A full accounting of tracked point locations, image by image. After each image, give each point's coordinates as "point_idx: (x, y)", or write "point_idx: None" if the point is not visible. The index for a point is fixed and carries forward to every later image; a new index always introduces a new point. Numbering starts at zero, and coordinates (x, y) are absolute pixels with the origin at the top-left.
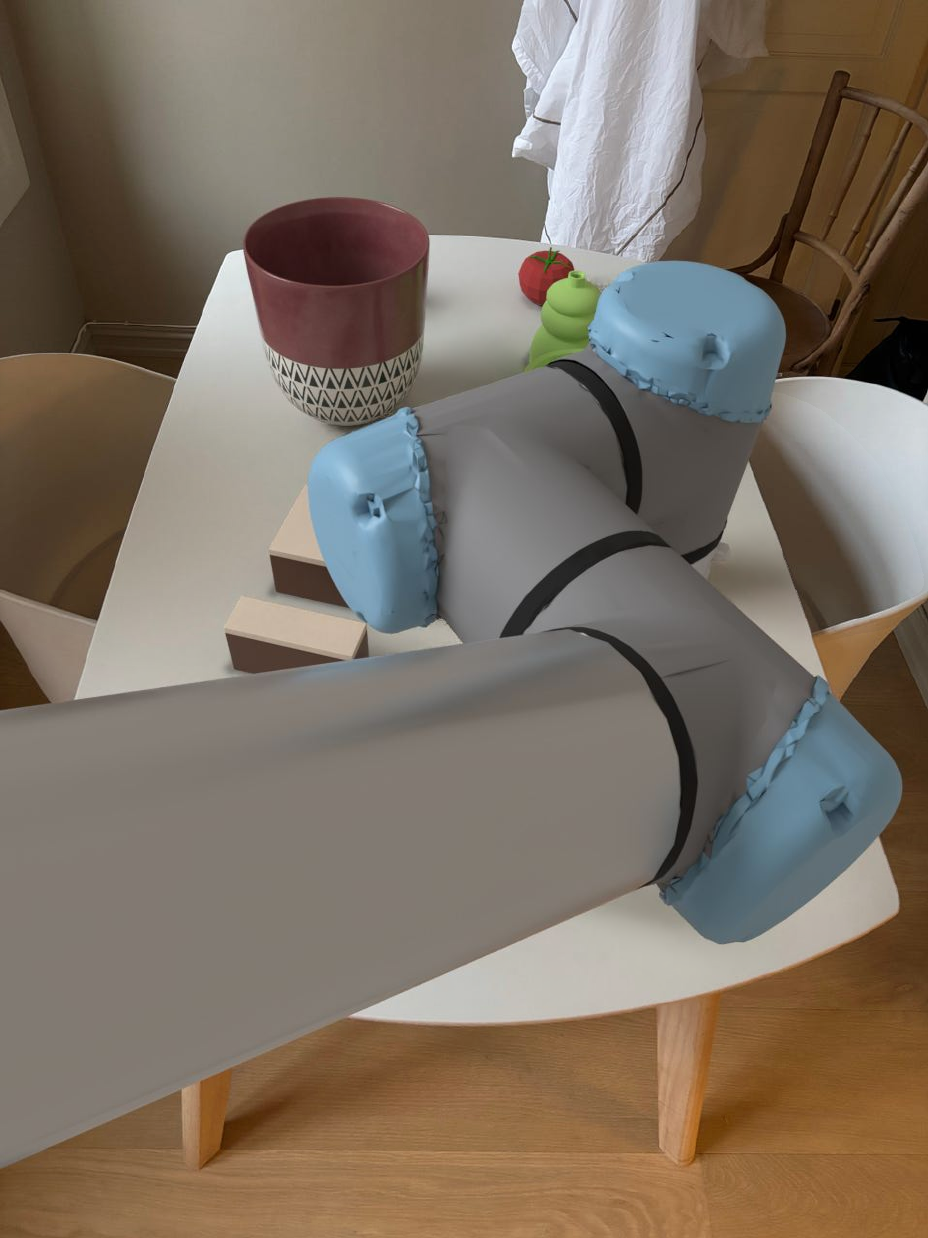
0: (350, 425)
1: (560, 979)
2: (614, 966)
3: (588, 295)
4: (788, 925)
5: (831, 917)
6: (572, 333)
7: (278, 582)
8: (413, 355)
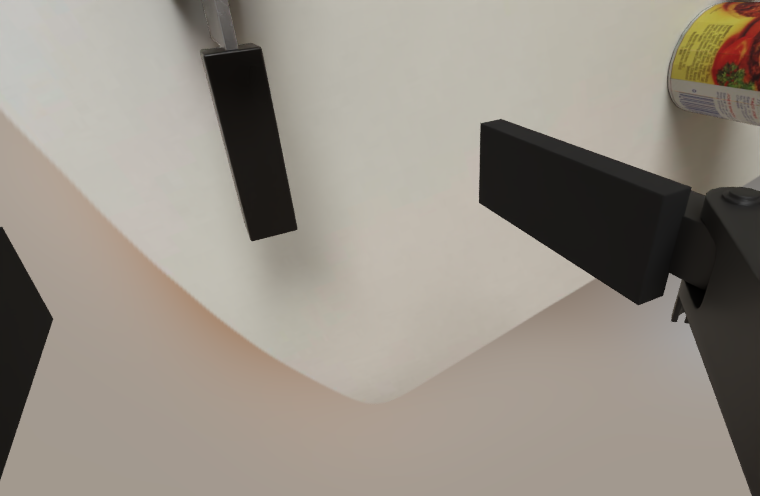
0: None
1: (115, 173)
2: (177, 227)
3: None
4: (323, 354)
5: (348, 379)
6: None
7: None
8: None
